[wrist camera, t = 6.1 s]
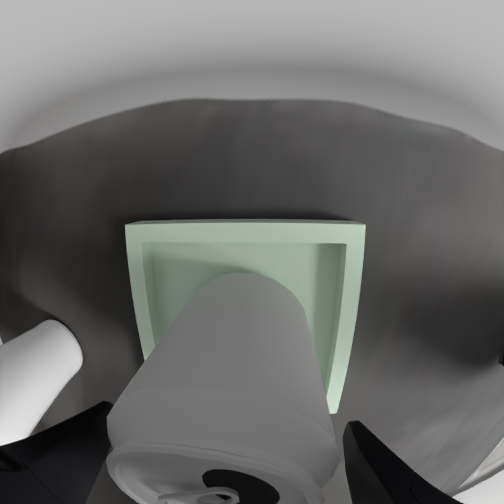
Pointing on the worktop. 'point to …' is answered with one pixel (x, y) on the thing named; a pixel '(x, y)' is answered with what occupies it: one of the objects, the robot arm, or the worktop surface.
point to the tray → (253, 261)
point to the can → (227, 404)
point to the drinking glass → (34, 376)
